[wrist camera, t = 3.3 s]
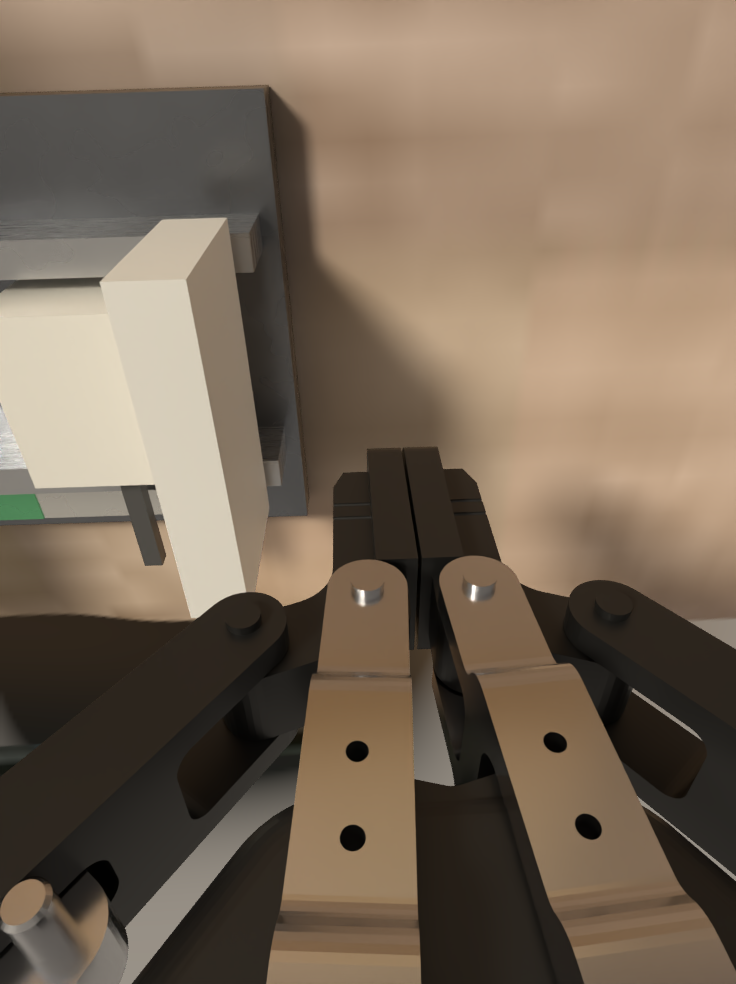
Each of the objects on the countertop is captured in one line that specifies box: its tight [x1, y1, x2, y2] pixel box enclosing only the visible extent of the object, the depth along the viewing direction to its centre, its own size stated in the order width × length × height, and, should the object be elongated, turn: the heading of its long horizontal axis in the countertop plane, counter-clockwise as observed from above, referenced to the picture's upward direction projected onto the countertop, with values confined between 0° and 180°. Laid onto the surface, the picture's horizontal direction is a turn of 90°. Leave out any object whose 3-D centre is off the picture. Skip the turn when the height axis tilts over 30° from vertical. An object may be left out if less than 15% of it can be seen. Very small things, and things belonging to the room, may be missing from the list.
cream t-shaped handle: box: [0, 218, 269, 618], centre depth 18 cm, size 7×11×7 cm, turn 1°
